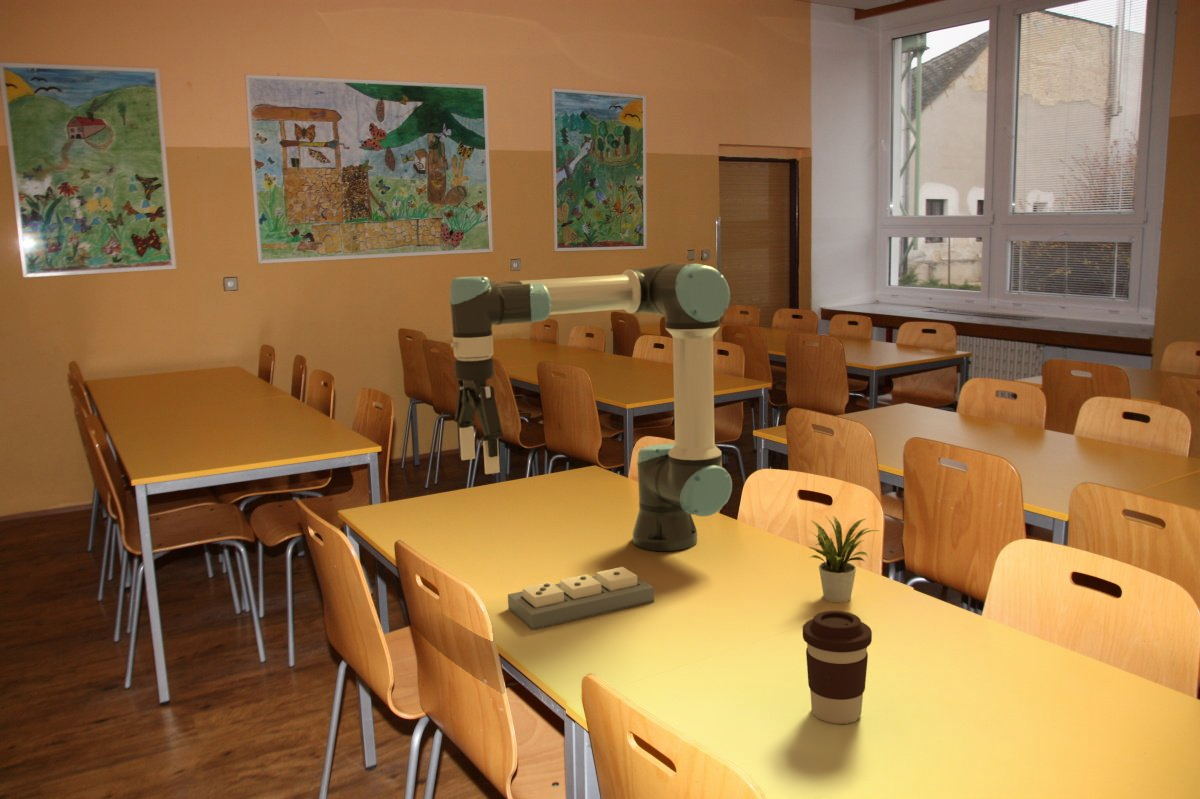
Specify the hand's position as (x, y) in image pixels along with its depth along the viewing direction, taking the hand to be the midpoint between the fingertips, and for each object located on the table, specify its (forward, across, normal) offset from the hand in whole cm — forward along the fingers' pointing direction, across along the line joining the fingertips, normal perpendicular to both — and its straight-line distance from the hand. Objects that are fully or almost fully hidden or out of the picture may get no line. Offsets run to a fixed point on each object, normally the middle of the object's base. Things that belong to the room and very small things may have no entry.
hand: (480, 466), depth 190 cm
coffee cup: (+28, +70, +29) cm, 81 cm away
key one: (+25, +12, +23) cm, 36 cm away
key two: (+25, +12, +15) cm, 32 cm away
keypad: (+28, +12, +15) cm, 34 cm away
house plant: (+28, +35, +61) cm, 76 cm away
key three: (+25, +12, +7) cm, 29 cm away
